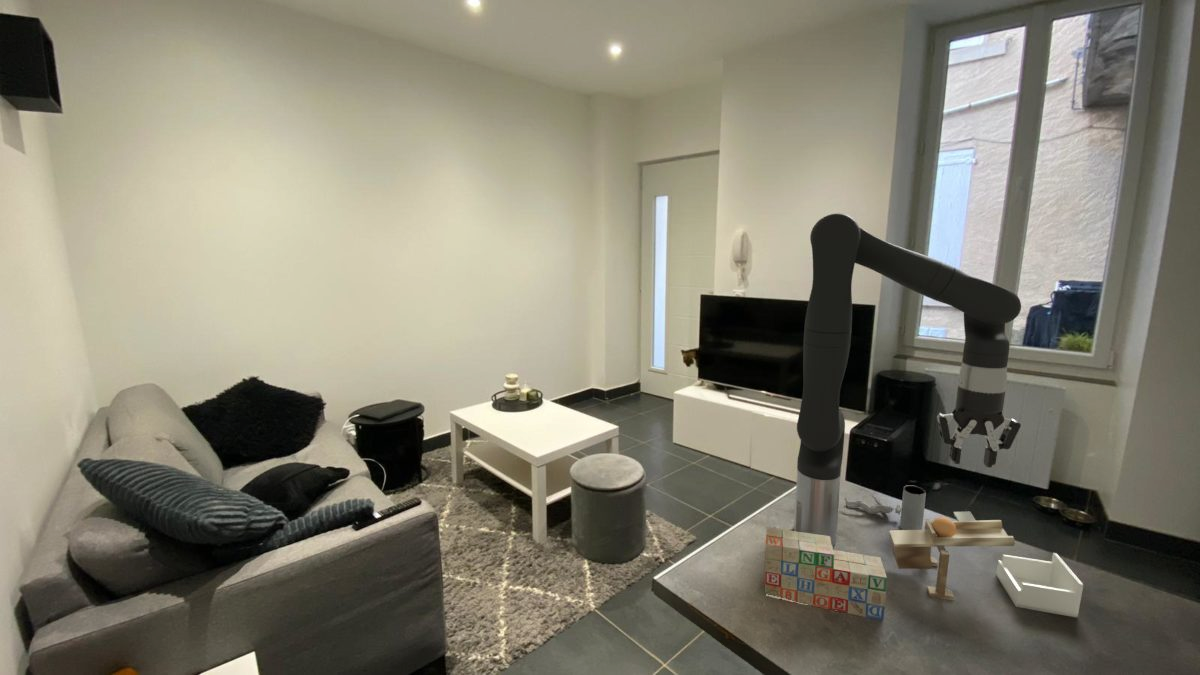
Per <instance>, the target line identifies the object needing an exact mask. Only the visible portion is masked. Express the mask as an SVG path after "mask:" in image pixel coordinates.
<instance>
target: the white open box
mask: <svg viewBox="0 0 1200 675" xmlns="http://www.w3.org/2000/svg"><path fill="white" fill-rule="evenodd" d="M1001 556H1002V557H1001V560H1000V559H998V560H997V567H996V573H995V575H996V577H997V578H998V581H999V582H1000V584H1001V585H1002V587H1003V588H1004V590H1005V591H1006V593H1007V594H1008V596H1009V598H1010V600H1011V601H1012V602H1013V604H1014V605H1015V607H1017V608H1021V609H1027V610H1031V611H1032V610H1033V611H1039V612H1044V613H1051V614H1054V615H1055V614H1056V615H1060V616H1067V617H1072V618H1079V611H1080V605H1081V601H1082V595H1083V594H1082V593H1083V589H1084V584H1083V582H1082V581H1081V580H1080V579H1079V577H1078V576H1077V575H1076V574H1075V573H1074V572H1073V571H1072V569H1071V568H1070V567H1069V565H1067V563H1066V562H1065V561H1064V560H1063V558H1062V557H1060V556H1059V554H1058V553H1057V552H1052V555H1051V556H1052V558H1051V561H1050V560H1042V559H1036V558H1030V557H1024V556H1016V555H1010V554H1003V553H1002V555H1001Z"/></svg>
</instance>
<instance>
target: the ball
mask: <svg viewBox="0 0 1200 675" xmlns="http://www.w3.org/2000/svg"><path fill="white" fill-rule="evenodd" d="M952 521H953V520H951V519H950V518H948V517H945V516H939V517H936V518H934V520H932V527H933V529H934V531H935V532H936V534H937V535H938V536H940V537H952V536H954V535H955V533H956V526H955V524H954V523H953V522H952Z"/></svg>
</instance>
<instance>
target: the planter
mask: <svg viewBox="0 0 1200 675" xmlns="http://www.w3.org/2000/svg"><path fill="white" fill-rule="evenodd" d="M926 496H927V492H926V490H925V489H923V488H922V487H919V486H916V485H913V484H912V485H905V486H903V488H902V499H901V512H900V521H899V522H900V523H899V527H900V529H901V530H923V525H924V516H925V515H924V514H925V506H926Z"/></svg>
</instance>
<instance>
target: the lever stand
mask: <svg viewBox="0 0 1200 675" xmlns="http://www.w3.org/2000/svg"><path fill="white" fill-rule="evenodd" d="M929 521H930V522H933V520H929ZM925 522H926V520H925ZM925 522H924V530H927V529H926V523H925ZM931 551H932V547H929V552H930V555H931V554H932V552H931ZM930 558H931V564H932V567H937V575H936V576H937V577H936V582H935V586H931V585H930V586H929V585H926V591H927V593H928V595H929V597H932V598H938V599H942V600H947V601H954V599H955V596H954V594H953V592H952V590H951V589H946V587H947V580H948V579H947V578H948V571H949V570H948V569H949V561H950V553H949V551H948V550H946V551H945V550H940V552H939V557H938V558H939V559H938V560H937V559H936V558H937V557H935V556H930Z"/></svg>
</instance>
